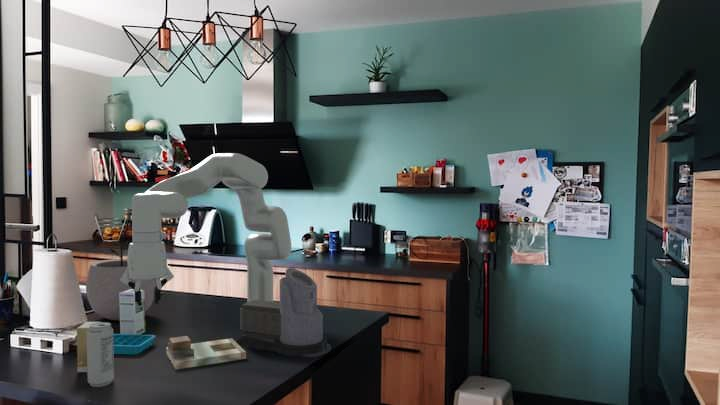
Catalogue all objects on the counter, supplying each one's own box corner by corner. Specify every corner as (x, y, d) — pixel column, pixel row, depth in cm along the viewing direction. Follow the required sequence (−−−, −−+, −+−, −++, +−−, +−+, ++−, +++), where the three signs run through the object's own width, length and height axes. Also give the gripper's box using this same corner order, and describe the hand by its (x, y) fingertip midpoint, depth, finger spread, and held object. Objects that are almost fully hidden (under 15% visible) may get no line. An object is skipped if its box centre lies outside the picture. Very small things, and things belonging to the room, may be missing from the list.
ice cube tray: (139, 356, 161) (139, 346, 160) (73, 354, 162) (73, 344, 162) (157, 344, 172) (157, 335, 172) (95, 342, 174) (95, 333, 174)
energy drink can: (100, 377, 143) (99, 320, 142) (119, 380, 141) (118, 322, 140) (82, 386, 137) (81, 326, 136) (101, 389, 135) (101, 328, 134)
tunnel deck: (231, 344, 171) (231, 331, 171) (245, 358, 158) (245, 345, 158) (166, 353, 162) (166, 340, 162) (175, 369, 149) (175, 355, 149)
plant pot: (79, 316, 204) (78, 236, 203) (145, 307, 219) (145, 232, 217) (95, 331, 185) (94, 242, 184) (166, 320, 200) (165, 238, 199)
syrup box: (135, 337, 179) (135, 292, 178) (119, 335, 180) (118, 292, 179) (145, 332, 184) (145, 289, 184) (130, 331, 186) (129, 288, 185)
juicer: (339, 344, 173) (339, 267, 172) (317, 360, 158) (317, 275, 157) (256, 334, 184) (256, 261, 182) (229, 347, 169) (228, 268, 168)
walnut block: (187, 349, 160) (187, 335, 160) (190, 354, 156) (190, 340, 155) (169, 351, 158) (169, 338, 157) (172, 356, 153) (172, 342, 153)
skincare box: (86, 364, 152) (85, 321, 152) (102, 364, 153) (102, 321, 152) (76, 373, 146) (75, 327, 145) (93, 372, 146) (92, 327, 146)
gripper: (176, 235, 158) (176, 298, 159) (112, 238, 150) (113, 304, 151) (181, 238, 152) (181, 303, 153) (115, 241, 144) (116, 310, 145)
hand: (147, 303), depth 152 cm, fingers open, 3 cm apart
